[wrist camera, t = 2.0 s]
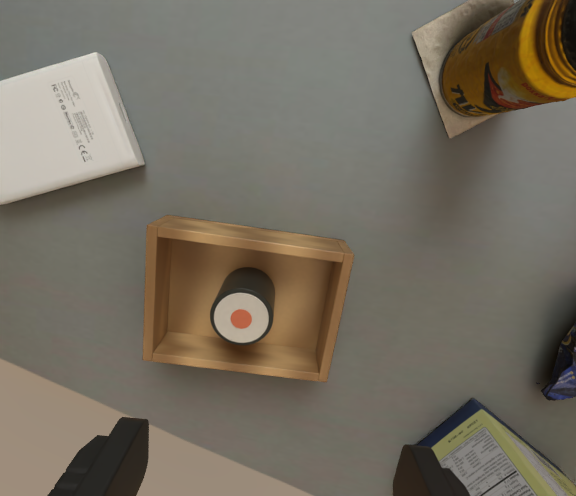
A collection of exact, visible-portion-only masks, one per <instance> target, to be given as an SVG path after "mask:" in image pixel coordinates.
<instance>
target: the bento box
mask: <svg viewBox="0 0 576 496" xmlns="http://www.w3.org/2000/svg"><path fill="white" fill-rule="evenodd" d="M353 259H354V254H353V252H352V251H351V249H350V248H349V247H348V245H347V244H346V242H345V241H344V240H338V239H331V238H324V237H317V236H310V235H303V234H296V233H290V232H283V231H276V230H269V229H262V228H255V227H248V226H241V225H234V224H227V223H220V222H213V221H207V220H200V219H193V218H186V217H179V216H172V215H166V216H164V217H162V218H160V219H158V220H156V221H154V222H152V223H150V224H148V225H147V235H146V268H145V301H144V334H143V360H146V361H153V362H162V363H170V364H178V365H187V366H195V367H203V368H211V369H220V370H228V371H236V372H244V373H253V374H261V375H269V376H278V377H286V378H294V379H302V380H311V381H321V382H327V379H328V374H329V369H330V365H331V360H332V356H333V351H334V346H335V342H336V337H337V333H338V328H339V323H340V319H341V314H342V310H343V305H344V300H345V296H346V291H347V287H348V282H349V277H350V273H351V268H352V263H353ZM243 267H252V268H256V269H259V270H261V271H263V272H264V273H266V274H267V275H268V276H269V277H270V279H271V280H272V282H273V284H274V287H275V302H274V317H273V324H272V327H271V329H270V331H269V333H268V334H267V335H266V336H265V337H264V338H263V339H261V340H260V341H258V342H256V343H254V344H250V345H235V344H232V343H229V342H227V341H225V340H223V339H222V338H221V337H220V336H218V335H217V333H216V332H215V331H214V329H213V327H212V325H211V321H210V310H211V307H212V304H213V302H214V300H215V298H216V296H217V294H218V292H219V290H220V288H221V286H222V284H223V282H224V280H225V278H226V277H227V276H228V275H229V274H230V273H231V272H233V271H234V270H236V269H239V268H243Z"/></svg>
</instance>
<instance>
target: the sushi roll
mask: <svg viewBox="0 0 576 496" xmlns="http://www.w3.org/2000/svg"><path fill="white" fill-rule="evenodd" d="M274 302H275V287H274V284H273V282H272V280H271V279H270V277H269V276H268V275H267V274H266V273H264V272H263V271H261V270H259V269H256V268H252V267H243V268H239V269H236V270H234V271H233V272H231V273H230V274H229V275H228V276H227V277H226V278H225V280H224V282H223V284H222V286H221V288H220V290H219V292H218V294H217V296H216V298H215V300H214V302H213V304H212V307H211V310H210V321H211V325H212V327H213V329H214V331H215V332H216V333H217V335H218V336H220V337H221V338H222V339H223V340H225V341H227V342H229V343H232V344H235V345H250V344H254V343H256V342H258V341H260V340H261V339H263V338H264V337H265V336H266V335H267V334H268V333H269V331H270V329H271V327H272V324H273V317H274Z"/></svg>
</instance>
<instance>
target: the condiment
mask: <svg viewBox="0 0 576 496" xmlns="http://www.w3.org/2000/svg"><path fill="white" fill-rule="evenodd" d="M412 35H413V38H414V40H415V42H416V45H417V49H418V52H419V54H420V56H421V59H422V62H423V65H424V68H425V71H426V73H427V77H428V80H429V83H430V86H431V89H432V92H433V95H434V98H435V101H436V103H437V106H438V109H439V112H440V115H441V118H442V120H443V122H444V126H445V129H446V131H447V134H448V136H449V138H450V139H451V138H452V137H454V136H456V135H458V134H460V133H462V132H464V131H466V130H468V129H470V128H472V127H474V126H475V125H477V124H479V123H481V122H483V121H485V120H487V119H489V118H491V117H493V116H495V115H497V114H499V113H503V112H508V111H512V110H518V109H524V108H528V107H531V106H535V105H541V104H545V103H551V102H558V101H565V100H567V99H570V98H574V97H576V0H520V1H518V2H517V3H515V4H514V1H513V0H469V1H467V2H465V3H463V4H462V5H460V6H458V7H456V8H454V9H453V10H451V11H450V12H447V13H446V14H444V15H442V16H440V17H438V18H437V19H435V20H433V21H431V22H430V23H428V24H426V25H424V26H422V27H421V28H419V29H417V30H415V31H413V32H412Z"/></svg>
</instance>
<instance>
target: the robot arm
mask: <svg viewBox="0 0 576 496" xmlns="http://www.w3.org/2000/svg"><path fill="white" fill-rule="evenodd" d="M148 433H149V422H148V420H147V419H138V418H127V417H122V418H121V419H120V420H119V421H118V422H117V424H116V425H115V427H114V428H113V430H112V432H111V434H110V435H109V436H100V435H97V436H96V437H95V438H94V439H93V440H91V441H90V442H89V443H88V444H87V445H85V446H84V447H83V448H82V449H81V450H79V452H78V453H77V454H76V456H75V457H74V459H73V460H72V462H71V463H70V464H69V466H68V467H67V469H66V472H65V473H63V475H62V476H61V477H60V479H59V480H58V482H57V483H56V484H55V487H54V489H52V490H51V492H50V493H49V494H48V496H136V495H137V492H138V490H139V488H140V486H141V483H142V481H143V478H144V475H145V472H146V468H147V463H148V441H149V439H148V438H149V434H148ZM393 496H470V494H469V492H468V490H467V488H466V487H465V485H464V484H463V483H462V482H461V481H460V480H459V479H458V477H457V476H456V475H455V474H454V473H453V472H452V471H451V470H450V469H449V468H442V467H441V465H440V463H439V461H438V459H437V457H436V455H435V453H434V451H433V450H432V449H431V448H430V447H427V446H416V445H404V446H403V449H402V452H401V455H400V459H399V462H398V466H397V469H396V473H395V476H394V480H393Z"/></svg>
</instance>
